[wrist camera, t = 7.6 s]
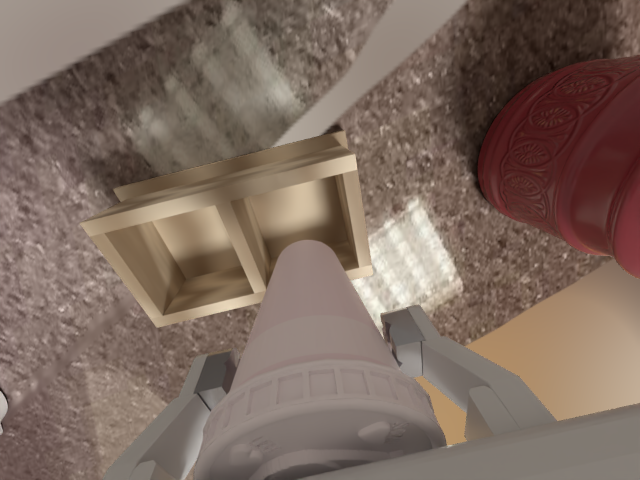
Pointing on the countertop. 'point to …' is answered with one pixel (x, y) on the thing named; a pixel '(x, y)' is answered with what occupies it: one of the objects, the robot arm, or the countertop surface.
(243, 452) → the smoothie
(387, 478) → the robot arm
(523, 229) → the countertop surface
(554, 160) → the canister
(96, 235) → the wooden divided tray
